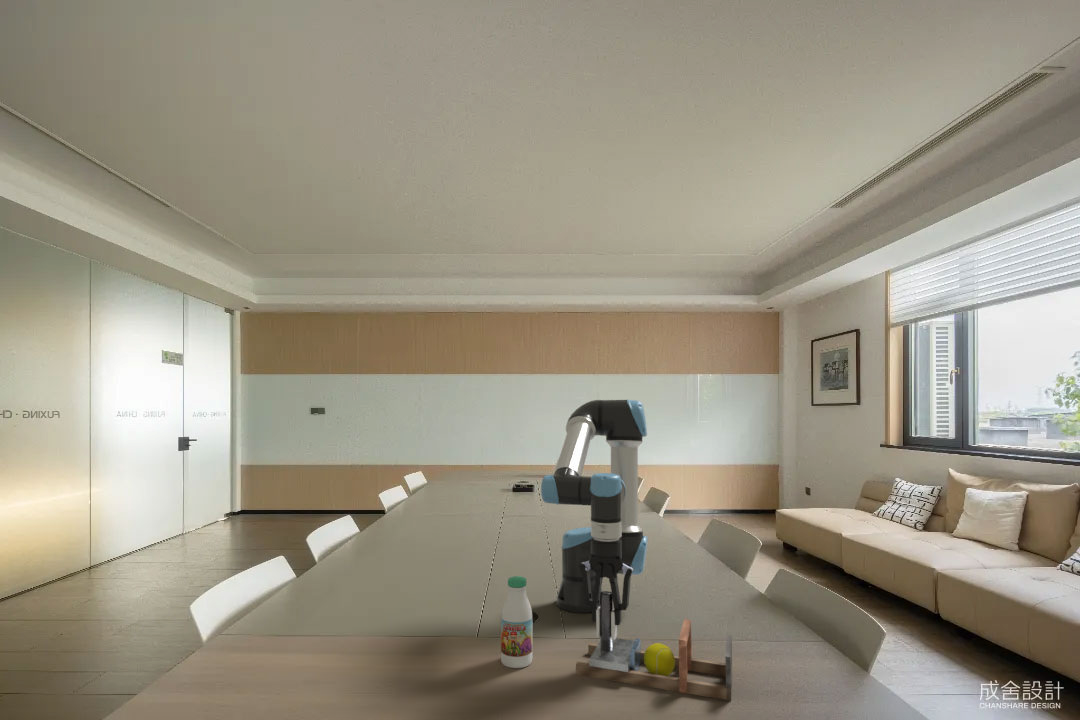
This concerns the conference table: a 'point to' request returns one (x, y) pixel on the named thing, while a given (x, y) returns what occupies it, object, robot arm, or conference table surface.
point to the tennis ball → (659, 659)
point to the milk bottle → (516, 626)
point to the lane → (681, 662)
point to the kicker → (614, 643)
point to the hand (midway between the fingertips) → (606, 636)
